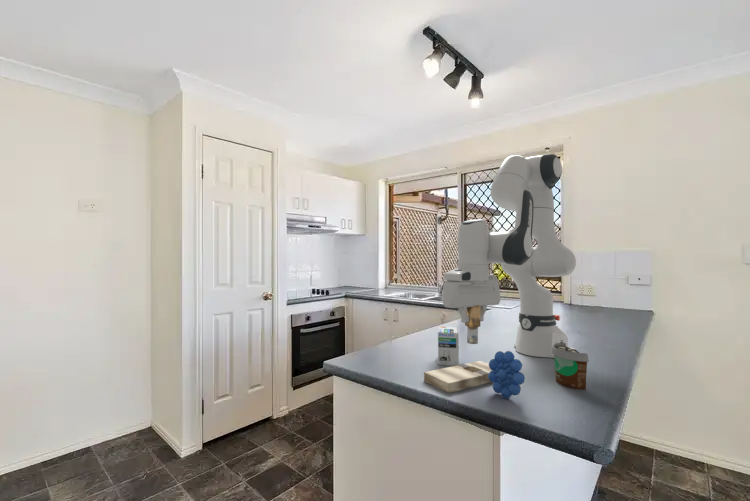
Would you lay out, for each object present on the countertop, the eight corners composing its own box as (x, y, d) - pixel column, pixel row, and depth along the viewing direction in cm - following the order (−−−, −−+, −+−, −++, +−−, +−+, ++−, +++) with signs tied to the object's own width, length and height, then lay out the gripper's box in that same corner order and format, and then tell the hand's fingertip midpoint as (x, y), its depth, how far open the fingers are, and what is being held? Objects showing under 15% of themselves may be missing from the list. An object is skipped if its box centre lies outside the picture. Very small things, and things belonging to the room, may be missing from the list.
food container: (543, 375, 104) (543, 342, 104) (564, 376, 104) (564, 342, 104) (564, 392, 91) (564, 353, 92) (588, 392, 91) (588, 353, 91)
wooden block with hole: (479, 368, 110) (479, 360, 110) (505, 378, 101) (505, 369, 101) (424, 381, 99) (424, 371, 99) (448, 393, 90) (448, 382, 90)
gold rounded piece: (472, 340, 105) (472, 303, 105) (483, 343, 101) (483, 305, 101) (461, 342, 102) (461, 304, 103) (472, 345, 99) (472, 306, 99)
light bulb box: (458, 366, 112) (458, 333, 112) (437, 365, 113) (437, 332, 114) (457, 357, 123) (457, 326, 123) (438, 356, 124) (438, 325, 124)
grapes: (537, 404, 84) (537, 354, 84) (515, 409, 81) (515, 357, 81) (502, 387, 94) (502, 342, 94) (482, 391, 92) (482, 345, 92)
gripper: (489, 273, 110) (488, 317, 110) (439, 274, 100) (438, 322, 99) (505, 274, 105) (505, 320, 104) (454, 275, 94) (454, 326, 94)
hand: (472, 321), depth 102 cm, fingers closed on gold rounded piece, 4 cm apart
